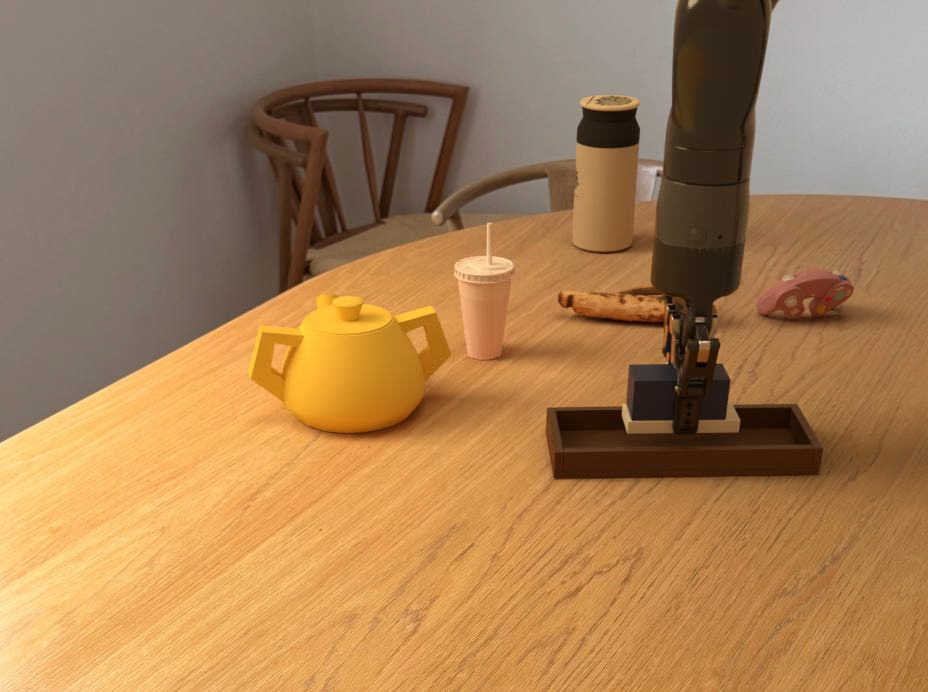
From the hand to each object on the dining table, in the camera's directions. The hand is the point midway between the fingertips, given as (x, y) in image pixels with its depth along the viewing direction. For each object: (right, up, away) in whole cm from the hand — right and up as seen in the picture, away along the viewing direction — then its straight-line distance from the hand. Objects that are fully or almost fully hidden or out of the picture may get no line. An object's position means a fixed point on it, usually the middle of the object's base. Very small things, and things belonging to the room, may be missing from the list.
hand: (680, 421), depth 114 cm
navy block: (0, 0, 0) cm, 0 cm away
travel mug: (-1, +33, +54) cm, 63 cm away
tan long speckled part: (+1, +18, +32) cm, 36 cm away
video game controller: (+20, +17, +31) cm, 40 cm away
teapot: (-31, +4, +13) cm, 34 cm away
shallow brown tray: (0, -3, +2) cm, 3 cm away
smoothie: (-17, +11, +23) cm, 30 cm away
